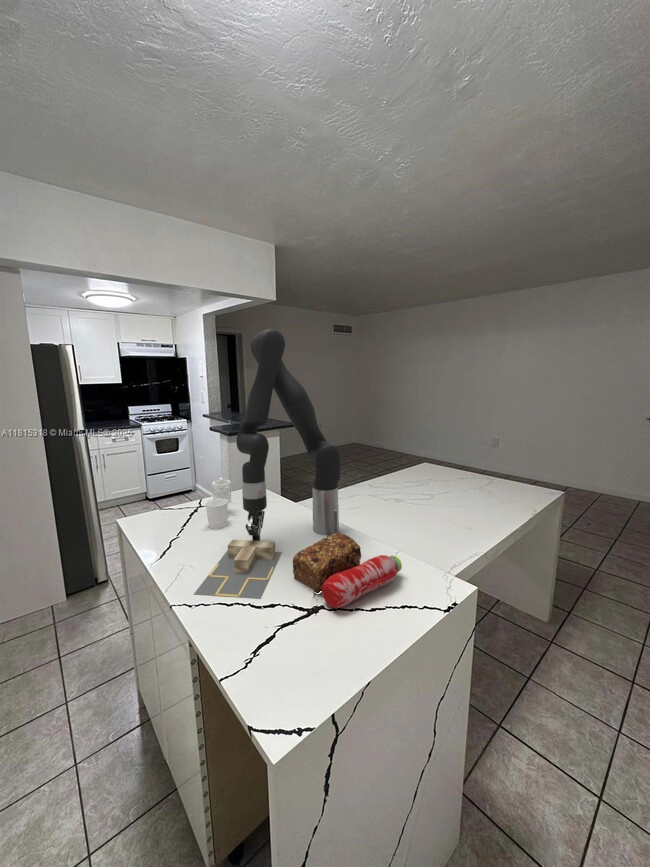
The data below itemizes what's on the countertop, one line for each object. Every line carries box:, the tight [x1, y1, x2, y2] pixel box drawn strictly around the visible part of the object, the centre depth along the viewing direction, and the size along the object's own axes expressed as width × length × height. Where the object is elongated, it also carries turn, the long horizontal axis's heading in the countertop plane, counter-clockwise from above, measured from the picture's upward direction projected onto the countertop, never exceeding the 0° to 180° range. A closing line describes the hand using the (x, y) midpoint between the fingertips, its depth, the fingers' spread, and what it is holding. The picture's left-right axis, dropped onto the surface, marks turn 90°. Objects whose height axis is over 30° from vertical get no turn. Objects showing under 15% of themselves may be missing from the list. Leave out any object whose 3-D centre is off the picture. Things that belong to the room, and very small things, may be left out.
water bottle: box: [321, 554, 403, 608], centre depth 96 cm, size 12×8×25 cm
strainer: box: [211, 477, 232, 504], centre depth 146 cm, size 7×7×15 cm
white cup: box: [205, 499, 229, 530], centre depth 134 cm, size 8×8×10 cm
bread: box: [292, 532, 362, 593], centre depth 102 cm, size 19×11×10 cm, turn 135°
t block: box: [227, 539, 276, 573], centre depth 107 cm, size 14×12×4 cm
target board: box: [192, 549, 283, 600], centre depth 103 cm, size 18×24×1 cm
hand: (256, 544), depth 117 cm, fingers closed
